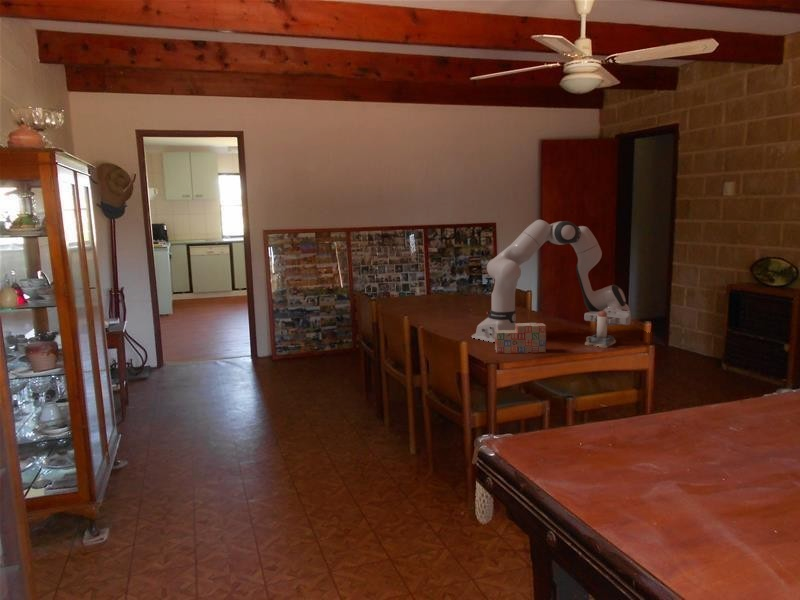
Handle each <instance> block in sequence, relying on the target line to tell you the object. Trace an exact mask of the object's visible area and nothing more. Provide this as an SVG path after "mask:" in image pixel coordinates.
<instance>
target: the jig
mask: <svg viewBox="0 0 800 600" xmlns="http://www.w3.org/2000/svg"><path fill="white" fill-rule="evenodd" d="M585 340H586V341H585V342H584V345H585V346H589V345H593V346H592V347H597V346H599V347H598V348H604V349H605V348H606V349H607V348H609V347H611V346H613V345H614V344H616V343H617V340H616V339H615V336H614V335H608V334H607V339H603V338H597V333H595V334H593V335H591V336H586V339H585Z"/></svg>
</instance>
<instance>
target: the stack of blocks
mask: <svg viewBox="0 0 800 600" xmlns="http://www.w3.org/2000/svg"><path fill="white" fill-rule="evenodd" d="M546 342H547V325H546V324H545V323H541V322H539V323H538V322H525V323H521V322H518V323H516V322H515V330H495V343H494V350H496V351H495V353H496V354H529V353H528V352H531V353H530V354H536V353H537V352H545V353H546V352H547V351H546V346H547V343H546ZM537 354H538V353H537Z"/></svg>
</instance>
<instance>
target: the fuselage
mask: <svg viewBox="0 0 800 600" xmlns="http://www.w3.org/2000/svg"><path fill="white" fill-rule="evenodd" d="M598 312H599V313H598V316H597V322H596V334H597V338H603V339H607V335H608V325H607V317H608V316H607V313H606V312H605V311H603V310H601V311H598Z"/></svg>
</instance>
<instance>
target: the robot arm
mask: <svg viewBox="0 0 800 600" xmlns="http://www.w3.org/2000/svg"><path fill="white" fill-rule="evenodd" d="M546 242H547V243H550V244H551V245H559V246H563V245H571V247H572V248H573V250H574V252H575V254H576V257H577V263H576V264H575V271H576V275H577V278H578V282H579V286H580V290H581V292H582V296H583V302H584V305H585V308H586V309H587V311H588V312H584V317H583V319H584V321H586V322H593V323H597V316H598V313H599V312H600V311H605V312H606V313H607V316H608V317H607V326H611V327H613V326H621V325H622V326H629V325H631V320H632V319H631V318H632V317H631V316H632V313H631V311H630V310H631V309H630V307H629V305H628V304H627V297H626V294H625V292H624V290H623V289H622V288H621V287H620V286H618V285H616V284H612V285H611V284H610V285H608V286H605V287H603V288H600V289H597V290H593V289H592V286H591V285H592V284H591V282H590V278H589V272H590V271H591V270H592V269H593V268H594V267H595V266H596V265H597V264H598V263H599V262H600V260H601V259H602V257H603V256H602V254H603V251H602V249H601V247H600V244H599V242H598V240H597V238H596V237H595V235H594V233H593V232H592V230H590V229H589V227H588V226H584V225H579V226H577V225H576V224H574V223H573V222H571V221H567V220H564V221H561V220H560V221H556V222H553V223H548V222H547V221H545V220H542V219H536V220H534V221H533V222H532V223H530V224H529V225H528V226H527V227H526V228H525V229H524V230H523V231H522V232H521V233H520V234H519V235H518V237H516V239H515V240H514V241H513V242H512V243H510V244H509V245H508V246H507V247H506V248H505V249H503V250H502V251H501V252H499V254H497V255H496V256H495V257H494V258H491V259H490V260H489V261H488V263H487V264H486V272H487V274H488V275H489V277H490V278H492V279H494V287H493V290H492V292H491V304H490V305H491V309H490V310H488V311H487V312H486V315H487V317H486V318H485V319H484V320H482V321H481V322H480V323H478V325H477V326H476V329H475V330H476V331H475V333H473V334H472V335H471V337H472V338H471V339H473V338H475V339H474V340H478V339H480V340H479V341H483V340H484V342H488V341H489V342H488V343H493V342H495V330H515V323H516V321H517V319H516V318H517V314H516V313H517V312H516V304H515V303H516V290H517V286H518V281H519V279H520V278H521V274H522V269H521V267H520V266H521V265H522V264H524V263H525V262H528V261H529V260H530V259H531V258H532V257H533V256H534V254H535V253H536V252H537V251H538V250H539V249H540V248H541V247H542V246H543V245H544V244H545V243H546Z"/></svg>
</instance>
